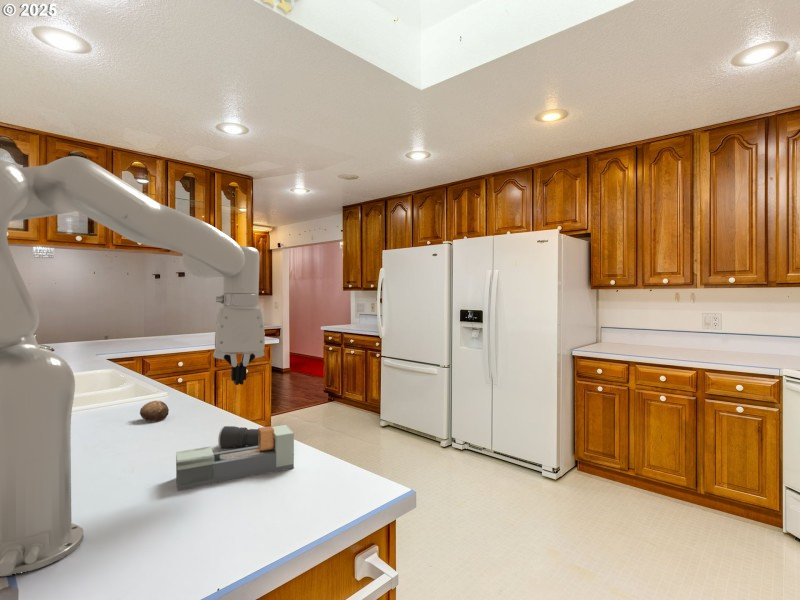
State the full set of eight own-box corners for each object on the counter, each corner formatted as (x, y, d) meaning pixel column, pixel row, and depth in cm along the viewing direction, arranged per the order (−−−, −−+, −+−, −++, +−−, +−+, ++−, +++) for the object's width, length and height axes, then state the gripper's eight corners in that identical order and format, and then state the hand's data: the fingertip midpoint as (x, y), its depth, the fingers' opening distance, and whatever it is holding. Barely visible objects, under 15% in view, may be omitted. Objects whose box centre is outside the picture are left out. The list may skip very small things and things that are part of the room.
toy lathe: (177, 490, 89) (177, 451, 89) (176, 477, 95) (176, 440, 95) (293, 468, 101) (293, 433, 100) (286, 457, 107) (286, 424, 107)
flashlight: (283, 443, 117) (283, 424, 117) (277, 451, 112) (278, 430, 112) (226, 443, 117) (226, 423, 117) (218, 450, 112) (218, 429, 112)
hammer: (220, 472, 95) (220, 437, 95) (219, 467, 98) (219, 433, 97) (285, 460, 102) (285, 428, 101) (281, 455, 104) (281, 424, 104)
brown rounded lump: (141, 407, 140) (147, 393, 138) (167, 413, 143) (173, 400, 141) (133, 425, 133) (139, 411, 131) (160, 432, 137) (167, 418, 134)
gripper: (206, 301, 91) (203, 389, 90) (278, 302, 98) (276, 384, 98) (202, 301, 97) (200, 383, 97) (270, 302, 104) (268, 378, 104)
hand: (238, 383), depth 97 cm, fingers closed
